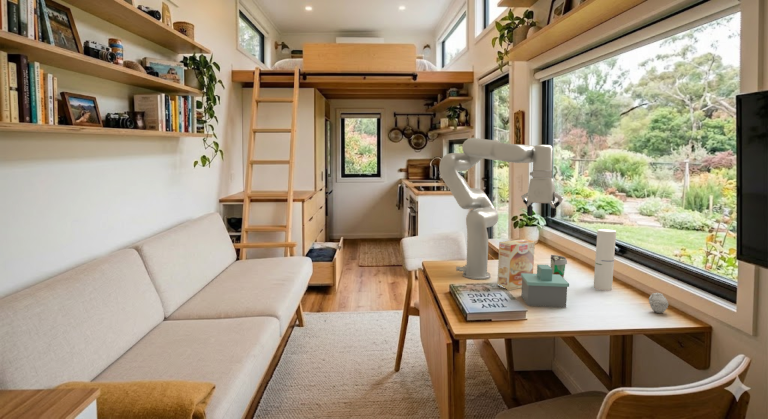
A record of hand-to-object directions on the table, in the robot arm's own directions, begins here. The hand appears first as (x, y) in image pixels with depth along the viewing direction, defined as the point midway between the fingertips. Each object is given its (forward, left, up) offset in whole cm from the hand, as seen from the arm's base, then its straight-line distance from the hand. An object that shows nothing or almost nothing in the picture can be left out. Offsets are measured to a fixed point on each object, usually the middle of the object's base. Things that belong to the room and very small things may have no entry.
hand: (541, 216), depth 191 cm
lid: (-2, -17, -24) cm, 29 cm away
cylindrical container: (+28, +5, -31) cm, 42 cm away
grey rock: (+37, -24, -31) cm, 54 cm away
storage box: (-2, -17, -31) cm, 35 cm away
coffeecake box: (-9, +3, -31) cm, 32 cm away
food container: (+13, +17, -31) cm, 38 cm away
